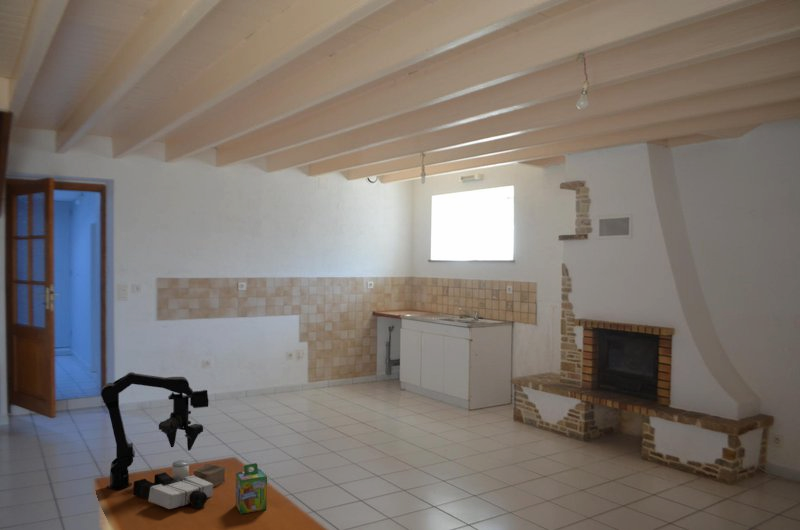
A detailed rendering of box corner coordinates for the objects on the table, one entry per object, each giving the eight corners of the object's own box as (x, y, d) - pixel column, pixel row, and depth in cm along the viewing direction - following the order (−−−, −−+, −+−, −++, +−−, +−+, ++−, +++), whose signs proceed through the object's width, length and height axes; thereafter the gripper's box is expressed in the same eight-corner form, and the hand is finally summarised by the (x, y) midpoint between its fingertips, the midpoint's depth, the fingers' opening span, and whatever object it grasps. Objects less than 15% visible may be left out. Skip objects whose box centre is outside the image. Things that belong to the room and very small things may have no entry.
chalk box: (240, 515, 196) (240, 471, 196) (234, 505, 204) (235, 463, 204) (267, 509, 200) (267, 466, 200) (261, 500, 208) (261, 459, 208)
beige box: (193, 486, 222) (193, 470, 222) (208, 479, 229) (208, 464, 229) (209, 489, 218) (209, 473, 218) (225, 482, 226) (225, 467, 226)
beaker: (168, 479, 229) (168, 464, 229) (181, 474, 234) (181, 459, 234) (180, 481, 226) (180, 466, 226) (192, 476, 232) (192, 461, 232)
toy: (125, 498, 209) (179, 519, 193) (126, 478, 209) (180, 497, 193) (170, 485, 225) (224, 503, 209) (172, 466, 225) (225, 483, 209)
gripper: (147, 411, 227) (147, 451, 227) (182, 416, 219) (182, 458, 219) (170, 405, 237) (170, 443, 237) (204, 410, 229) (204, 449, 229)
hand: (180, 448), depth 230 cm, fingers open, 9 cm apart
